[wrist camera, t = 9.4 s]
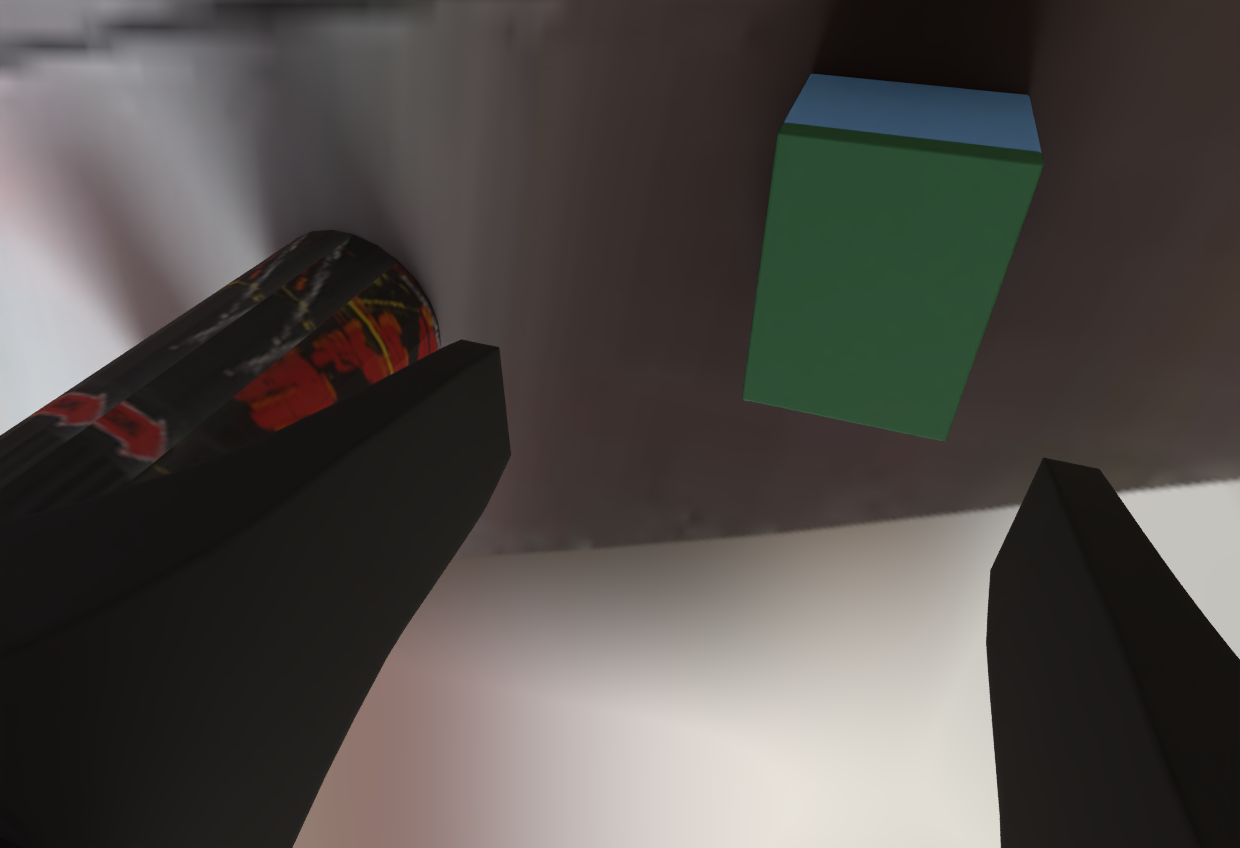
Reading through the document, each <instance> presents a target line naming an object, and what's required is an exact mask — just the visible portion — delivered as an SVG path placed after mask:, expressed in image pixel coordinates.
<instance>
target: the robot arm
mask: <svg viewBox="0 0 1240 848" xmlns="http://www.w3.org/2000/svg"><path fill="white" fill-rule="evenodd" d="M510 456H511V451H510V442H509V433H508V424H507V415H506V405H505V396H504V387H503V378H502V369H501V360H500V350H499V347H495V346H490V345H485V344H480V343H476V342H471V341H466V340H459V341H457V342H455V343H452V344H450V345H448V346H446V347H443V348H441V349H439V350H437V351H435V352H433V353H431V354H429V355H427V356H425V357H423V358H421V359H419V360H418V361H416V362H414V363H412V364H410V365H408V366H406V367H404V368H402V369H400V370H398V371H397V372H395V373H393V374H391V375H389V376H387V377H385V378H383V379H381V380H379V381H377V382H375V383H373V384H372V385H370V386H368V387H366V388H364V389H362V390H360V391H358V392H356V393H354V394H352V395H350V396H348V397H346V398H344V399H343V400H341V401H339V402H337V403H335V404H333V405H331V406H328V407H326V408H324V409H322V410H320V411H318V412H316V413H314V414H311V415H309V416H307V417H305V418H303V419H301V420H299V421H297V422H294V423H292V424H290V425H288V426H286V427H284V428H282V429H279V430H277V431H275V432H273V433H271V434H269V435H267V436H264V437H262V438H260V439H257V440H255V441H253V442H250V443H248V444H246V445H243V446H241V447H238V448H236V449H233V450H231V451H229V452H226V453H224V454H221V455H218V456H216V457H213V458H210V459H208V460H205V461H202V462H200V463H197V464H194V465H192V466H189V467H186V468H184V469H181V470H178V471H175V472H172V473H169V474H167V475H163V476H160V477H157V478H154V479H151V480H147V481H144V482H141V483H138V484H135V485H131V486H128V487H125V488H122V489H119V490H115V491H112V492H109V493H106V494H103V495H99V496H96V497H93V498H90V499H86V500H83V501H79V502H76V503H72V504H68V505H64V506H60V507H57V508H53V509H49V510H45V511H41V512H37V513H34V514H29V515H25V516H21V517H17V518H12V519H8V520H4V521H0V848H292V847H293V845H294V843H295V841H296V839H297V837H298V834H299V832H300V830H301V828H302V826H303V823H304V821H305V819H306V817H307V815H308V813H309V811H310V808H311V806H312V804H313V802H314V800H315V798H316V796H317V793H318V791H319V789H320V787H321V785H322V783H323V780H324V778H325V776H326V774H327V772H328V770H329V768H330V766H331V764H332V762H333V760H334V758H335V756H336V754H337V752H338V750H339V748H340V746H341V744H342V742H343V740H344V738H345V736H346V734H347V732H348V730H349V728H350V726H351V724H352V722H353V720H354V718H355V716H356V714H357V713H358V711H359V709H360V707H361V705H362V703H363V701H364V699H365V697H366V696H367V694H368V692H369V690H370V688H371V686H372V684H373V683H374V681H375V679H376V677H377V675H378V673H379V671H380V670H381V668H382V666H383V664H384V662H385V660H386V658H387V657H388V655H389V653H390V652H391V650H392V648H393V647H394V645H395V644H396V642H397V640H398V639H399V637H400V635H401V634H402V632H403V631H404V629H405V628H406V626H407V624H408V623H409V622H410V620H411V619H412V617H413V616H414V614H415V613H416V611H417V610H418V608H419V607H420V605H421V604H422V603H423V601H424V599H425V598H426V596H427V595H428V594H429V592H430V591H431V589H432V588H433V586H434V585H435V583H436V582H437V580H438V579H439V578H440V576H441V575H442V573H443V572H444V570H445V569H446V567H447V566H448V564H449V563H450V561H451V560H452V558H453V557H454V555H455V554H456V552H457V551H458V549H459V548H460V546H461V545H462V543H463V542H464V540H465V539H466V537H467V536H468V534H469V533H470V531H471V530H472V528H473V527H474V525H475V524H476V522H477V521H478V519H479V518H480V516H481V515H482V513H483V512H484V510H485V508H486V506H487V504H488V502H489V500H490V498H491V496H492V494H493V492H494V490H495V488H496V486H497V484H498V482H499V480H500V477H501V475H502V473H503V471H504V469H505V467H506V465H507V463H508V460H509V458H510ZM986 647H987V662H988V676H989V687H990V702H991V714H992V727H993V737H994V738H993V739H994V751H995V763H996V774H997V787H998V798H999V799H998V800H999V812H1000V836H1001V848H1240V659H1239V658H1238V657H1237V656H1236V655H1235V653H1234V652H1233V651H1232V650H1231V648H1230V647H1229V646H1228V645H1227V643H1226V642H1225V641H1224V640H1223V638H1222V637H1221V636H1220V635H1219V633H1218V632H1217V631H1216V629H1215V628H1214V627H1213V626H1212V625H1211V623H1210V622H1209V621H1208V619H1207V618H1206V617H1205V616H1204V614H1203V613H1202V612H1201V610H1200V609H1199V608H1198V606H1197V605H1196V604H1195V603H1194V601H1193V600H1192V598H1191V597H1190V596H1189V595H1188V593H1187V592H1186V590H1185V589H1184V588H1183V586H1182V585H1181V584H1180V582H1179V581H1178V580H1177V578H1176V577H1175V575H1174V574H1173V573H1172V572H1171V570H1170V569H1169V567H1168V566H1167V564H1166V563H1165V562H1164V560H1163V559H1162V558H1161V556H1160V555H1159V553H1158V552H1157V550H1156V549H1155V548H1154V546H1153V545H1152V543H1151V542H1150V541H1149V539H1148V538H1147V536H1146V535H1145V533H1144V532H1143V531H1142V529H1141V528H1140V526H1139V525H1138V523H1137V522H1136V521H1135V519H1134V518H1133V516H1132V515H1131V513H1130V512H1129V510H1128V509H1127V508H1126V506H1125V505H1124V503H1123V502H1122V500H1121V499H1120V497H1119V496H1118V495H1117V493H1116V492H1115V490H1114V489H1113V487H1112V486H1111V485H1110V483H1109V482H1108V480H1107V479H1106V478H1105V476H1104V475H1103V473H1102V472H1101V471H1100V469H1097V468H1092V467H1087V466H1082V465H1077V464H1072V463H1067V462H1062V461H1057V460H1052V459H1047V458H1043V460H1042V462H1041V464H1040V466H1039V468H1038V470H1037V472H1036V474H1035V477H1034V479H1033V481H1032V483H1031V485H1030V487H1029V489H1028V491H1027V494H1026V496H1025V498H1024V500H1023V502H1022V504H1021V506H1020V508H1019V511H1018V513H1017V515H1016V517H1015V520H1014V522H1013V523H1012V525H1011V528H1010V530H1009V532H1008V534H1007V536H1006V538H1005V540H1004V543H1003V545H1002V547H1001V549H1000V551H999V553H998V555H997V557H996V560H995V562H994V564H993V566H992V568H991V571H990V585H989V600H988V616H987V637H986Z"/></svg>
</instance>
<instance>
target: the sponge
mask: <svg viewBox="0 0 1240 848" xmlns="http://www.w3.org/2000/svg"><path fill="white" fill-rule="evenodd" d="M1043 166H1044V163H1043V158H1042V154H1041V148H1040V143H1039V139H1038V134H1037V130H1036V125H1035V120H1034V116H1033V111H1032V106H1031V102H1030V97H1029V96H1028V95H1023V94H1013V93H1003V92H992V91H982V90H972V89H962V88H952V87H942V86H932V85H922V84H912V83H902V82H891V81H881V80H871V79H861V78H851V77H841V76H831V75H821V74H811V75H810V76H809V78H808V80H807V82H806V84H805V85H804V87H803V89H802V91H801V92H800V94H799V96H798V98H797V100H796V101H795V103H794V105H793V107H792V109H791V110H790V112H789V114H788V116H787V117H786V119H785V121H784V123H783V125H782V127H781V128H780V130H779V132H778V134H777V141H776V148H775V156H774V163H773V171H772V178H771V185H770V193H769V200H768V208H767V215H766V223H765V230H764V238H763V245H762V252H761V260H760V267H759V275H758V282H757V290H756V297H755V305H754V312H753V319H752V327H751V334H750V342H749V349H748V357H747V364H746V372H745V379H744V386H743V394H742V398H743V399H744V400H747V401H752V402H757V403H762V404H766V405H771V406H776V407H781V408H786V409H791V410H795V411H800V412H805V413H810V414H815V415H820V416H824V417H829V418H834V419H839V420H844V421H848V422H853V423H858V424H863V425H868V426H873V427H877V428H882V429H887V430H892V431H897V432H901V433H906V434H911V435H916V436H921V437H926V438H930V439H935V440H940V441H945V440H946V438H947V436H948V433H949V430H950V427H951V424H952V422H953V419H954V416H955V413H956V410H957V408H958V405H959V402H960V399H961V396H962V394H963V391H964V388H965V385H966V382H967V380H968V377H969V374H970V371H971V368H972V366H973V363H974V360H975V357H976V354H977V352H978V349H979V346H980V343H981V340H982V337H983V335H984V332H985V329H986V326H987V323H988V321H989V318H990V315H991V312H992V309H993V307H994V304H995V301H996V298H997V295H998V293H999V290H1000V287H1001V284H1002V281H1003V279H1004V276H1005V273H1006V270H1007V267H1008V265H1009V262H1010V259H1011V256H1012V253H1013V251H1014V248H1015V245H1016V242H1017V239H1018V237H1019V234H1020V231H1021V228H1022V225H1023V223H1024V220H1025V217H1026V214H1027V211H1028V208H1029V206H1030V203H1031V200H1032V197H1033V194H1034V192H1035V189H1036V186H1037V183H1038V180H1039V178H1040V175H1041V172H1042V169H1043Z"/></svg>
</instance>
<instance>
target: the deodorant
mask: <svg viewBox="0 0 1240 848" xmlns="http://www.w3.org/2000/svg"><path fill="white" fill-rule="evenodd" d="M439 349H440V339H439V331H438V324H437V321H436V318H435V316H434V313H433V311H432V308H431V305H430V303H429V301H428V300H427V298H426V296H425V295H424V293H423V292H422V290H421V289H420V287H419V285H418V284H417V282H416V281H415V280H414V279H413V278H412V277H411V275H410V274H409V273H408V272H407V271H406V270H405V269H404V268H403V267H402V266H401V265H400V264H399V263H398V262H397V261H396V260H395V259H393V258H392V257H391V256H389V255H388V254H387V253H385V252H384V251H383V250H381V249H380V248H379V247H377V246H376V245H374V244H371V243H369V242H367V241H365V240H363V239H361V238H359V237H357V236H355V235H351V234H347V233H342V232H337V231H333V230H329V231H316V232H311V233H308V234H306V235H304V236H302V237H300V238H297V239H296V240H294V241H293V242H291V243H290V244H288V245H287V246H285V247H284V248H282V249H281V250H279V251H278V252H276V253H275V254H273V255H272V256H270V257H269V258H267V259H266V260H264V261H263V262H261V263H260V264H258V265H256V266H255V267H253V268H252V269H250V270H249V271H247V272H246V273H244V274H243V275H241V276H240V277H238V278H237V279H235V280H234V281H232V282H231V283H229V284H228V285H226V286H225V287H223V288H222V289H220V290H219V291H217V292H216V293H214V294H213V295H211V296H210V297H208V298H207V299H205V300H204V301H202V302H201V303H199V304H198V305H196V306H195V307H193V308H192V309H190V310H189V311H187V312H186V313H184V314H183V315H181V316H180V317H178V318H177V319H175V320H174V321H172V322H171V323H169V324H168V325H166V326H165V327H163V328H162V329H160V330H159V331H157V332H156V333H154V334H153V335H151V336H150V337H148V338H147V339H145V340H144V341H142V342H141V343H139V344H138V345H136V346H135V347H133V348H132V349H130V350H128V351H127V352H125V353H124V354H122V355H121V356H119V357H118V358H116V359H115V360H113V361H112V362H110V363H109V364H107V365H106V366H104V367H103V368H101V369H100V370H98V371H97V372H95V373H94V374H92V375H91V376H89V377H88V378H86V379H85V380H83V381H82V382H80V383H79V384H77V385H76V386H74V387H73V388H71V389H70V390H68V391H67V392H65V393H64V394H62V395H61V396H59V397H58V398H56V399H55V400H53V401H52V402H50V403H49V404H47V405H46V406H44V407H43V408H41V409H40V410H38V411H37V412H35V413H34V414H32V415H31V416H29V417H28V418H26V419H25V420H23V421H22V422H20V423H19V424H17V425H16V426H14V427H13V428H11V429H10V430H8V431H7V432H5V433H4V434H2V435H1V436H0V521H4V520H8V519H12V518H17V517H21V516H25V515H29V514H34V513H37V512H41V511H45V510H49V509H53V508H57V507H60V506H64V505H68V504H72V503H76V502H79V501H83V500H86V499H90V498H93V497H96V496H99V495H103V494H106V493H109V492H112V491H115V490H119V489H122V488H125V487H128V486H131V485H135V484H138V483H141V482H144V481H147V480H151V479H154V478H157V477H160V476H163V475H167V474H169V473H172V472H175V471H178V470H181V469H184V468H186V467H189V466H192V465H194V464H197V463H200V462H202V461H205V460H208V459H210V458H213V457H216V456H218V455H221V454H224V453H226V452H229V451H231V450H233V449H236V448H238V447H241V446H243V445H246V444H248V443H250V442H253V441H255V440H257V439H260V438H262V437H264V436H267V435H269V434H271V433H273V432H275V431H277V430H279V429H282V428H284V427H286V426H288V425H290V424H292V423H294V422H297V421H299V420H301V419H303V418H305V417H307V416H309V415H311V414H314V413H316V412H318V411H320V410H322V409H324V408H326V407H328V406H331V405H333V404H335V403H337V402H339V401H341V400H343V399H344V398H346V397H348V396H350V395H352V394H354V393H356V392H358V391H360V390H362V389H364V388H366V387H368V386H370V385H372V384H373V383H375V382H377V381H379V380H381V379H383V378H385V377H387V376H389V375H391V374H393V373H395V372H397V371H398V370H400V369H402V368H404V367H406V366H408V365H410V364H412V363H414V362H416V361H418V360H419V359H421V358H423V357H425V356H427V355H429V354H431V353H433V352H435V351H437V350H439Z"/></svg>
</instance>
